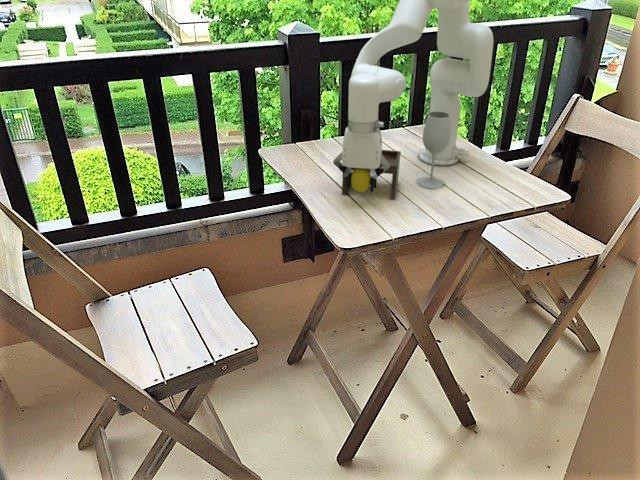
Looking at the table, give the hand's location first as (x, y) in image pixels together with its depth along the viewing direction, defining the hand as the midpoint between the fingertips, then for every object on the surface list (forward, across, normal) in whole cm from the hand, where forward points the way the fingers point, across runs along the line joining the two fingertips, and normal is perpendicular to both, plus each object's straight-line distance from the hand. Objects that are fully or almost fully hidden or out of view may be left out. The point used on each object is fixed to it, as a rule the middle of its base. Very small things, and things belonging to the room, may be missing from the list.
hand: (360, 188), depth 143 cm
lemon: (+2, 0, 0) cm, 2 cm away
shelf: (+5, -2, -10) cm, 12 cm away
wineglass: (+6, -19, -18) cm, 26 cm away
